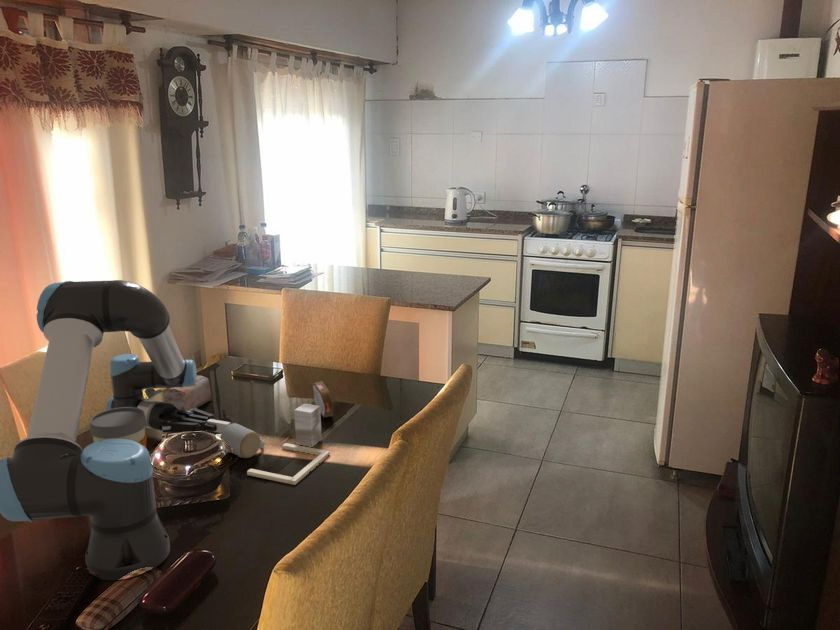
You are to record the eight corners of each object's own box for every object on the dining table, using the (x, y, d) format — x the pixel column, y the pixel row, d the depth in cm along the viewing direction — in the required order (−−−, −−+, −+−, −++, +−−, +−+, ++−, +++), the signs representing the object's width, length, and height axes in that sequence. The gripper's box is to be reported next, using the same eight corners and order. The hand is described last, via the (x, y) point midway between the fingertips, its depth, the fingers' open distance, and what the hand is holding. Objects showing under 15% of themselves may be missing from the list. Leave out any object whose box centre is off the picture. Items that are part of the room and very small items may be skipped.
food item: (186, 417, 198) (183, 386, 196) (164, 414, 201) (160, 382, 198) (214, 401, 210) (212, 371, 208) (193, 398, 213) (190, 368, 211)
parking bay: (295, 485, 159) (294, 481, 159) (247, 474, 164) (247, 471, 163) (330, 454, 174) (329, 451, 174) (285, 446, 179) (285, 442, 179)
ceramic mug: (242, 464, 169) (240, 435, 167) (219, 456, 173) (218, 428, 172) (272, 449, 178) (271, 422, 176) (250, 441, 182) (248, 415, 180)
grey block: (312, 447, 178) (310, 412, 176) (295, 444, 180) (294, 410, 178) (321, 440, 183) (320, 406, 180) (305, 437, 185) (304, 403, 182)
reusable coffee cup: (91, 489, 157) (83, 430, 153) (101, 465, 169) (93, 409, 165) (148, 482, 160) (142, 424, 156) (154, 459, 172) (148, 404, 168)
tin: (334, 420, 196) (333, 393, 194) (323, 422, 195) (322, 395, 193) (322, 402, 209) (321, 377, 207) (312, 404, 208) (311, 378, 206)
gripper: (175, 419, 190) (245, 431, 182) (141, 437, 178) (214, 451, 170) (172, 394, 188) (243, 405, 180) (138, 411, 177) (212, 424, 168)
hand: (229, 428), depth 175 cm, fingers closed
